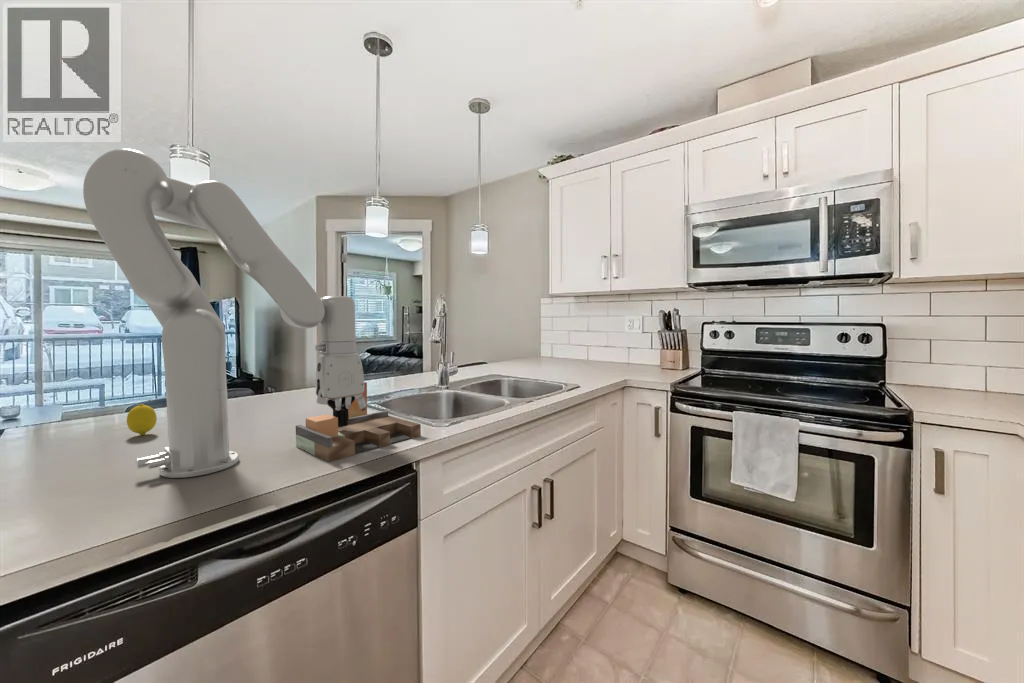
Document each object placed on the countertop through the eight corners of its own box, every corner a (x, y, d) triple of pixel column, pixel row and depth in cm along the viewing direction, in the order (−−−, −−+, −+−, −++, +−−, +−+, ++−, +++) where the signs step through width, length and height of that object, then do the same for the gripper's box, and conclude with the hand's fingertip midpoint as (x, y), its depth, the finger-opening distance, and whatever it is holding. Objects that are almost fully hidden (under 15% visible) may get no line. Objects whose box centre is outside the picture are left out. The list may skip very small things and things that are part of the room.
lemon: (143, 438, 99) (141, 406, 99) (121, 438, 99) (119, 406, 99) (163, 432, 105) (161, 401, 104) (142, 431, 105) (140, 401, 104)
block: (316, 439, 89) (316, 421, 89) (306, 435, 92) (305, 418, 92) (338, 434, 93) (337, 417, 93) (327, 430, 96) (327, 414, 96)
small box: (343, 421, 116) (342, 385, 116) (332, 418, 120) (332, 383, 119) (368, 416, 123) (367, 381, 122) (357, 413, 126) (356, 379, 125)
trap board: (328, 461, 84) (327, 438, 84) (296, 446, 94) (295, 425, 93) (420, 435, 103) (420, 416, 103) (386, 425, 112) (386, 407, 112)
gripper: (314, 352, 87) (317, 435, 88) (376, 347, 99) (377, 421, 100) (298, 350, 92) (301, 429, 93) (359, 346, 103) (361, 416, 105)
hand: (341, 425), depth 96 cm, fingers closed
